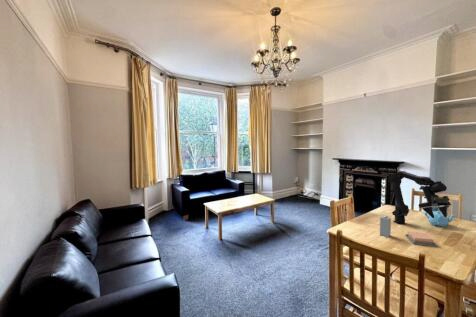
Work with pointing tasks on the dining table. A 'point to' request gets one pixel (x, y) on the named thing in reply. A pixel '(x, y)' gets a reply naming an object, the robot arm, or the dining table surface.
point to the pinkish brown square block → (420, 239)
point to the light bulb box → (434, 209)
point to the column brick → (385, 226)
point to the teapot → (439, 219)
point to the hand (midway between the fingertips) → (439, 217)
